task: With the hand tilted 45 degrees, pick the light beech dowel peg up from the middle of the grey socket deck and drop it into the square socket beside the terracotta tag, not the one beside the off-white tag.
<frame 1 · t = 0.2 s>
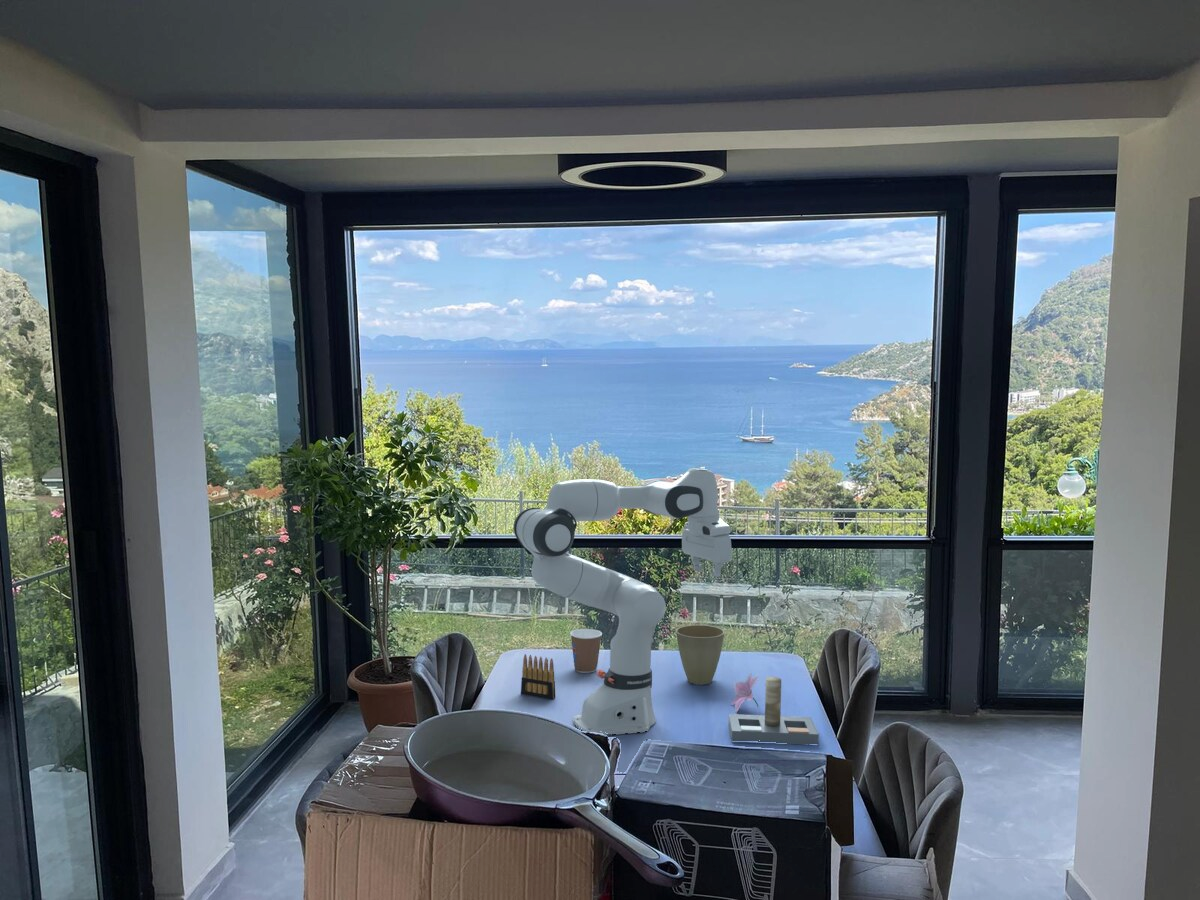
hand: (707, 573, 250), 39 cm above the table, tool pointing down, fingers open, 8 cm apart
socket deck: (772, 735, 234), on the table
coffee cup: (585, 670, 287), on the table
peg: (772, 723, 234), point 3 cm above the table, touching socket deck
ammunition clip: (538, 696, 262), on the table
lily: (744, 708, 255), on the table
plant pot: (699, 681, 277), on the table
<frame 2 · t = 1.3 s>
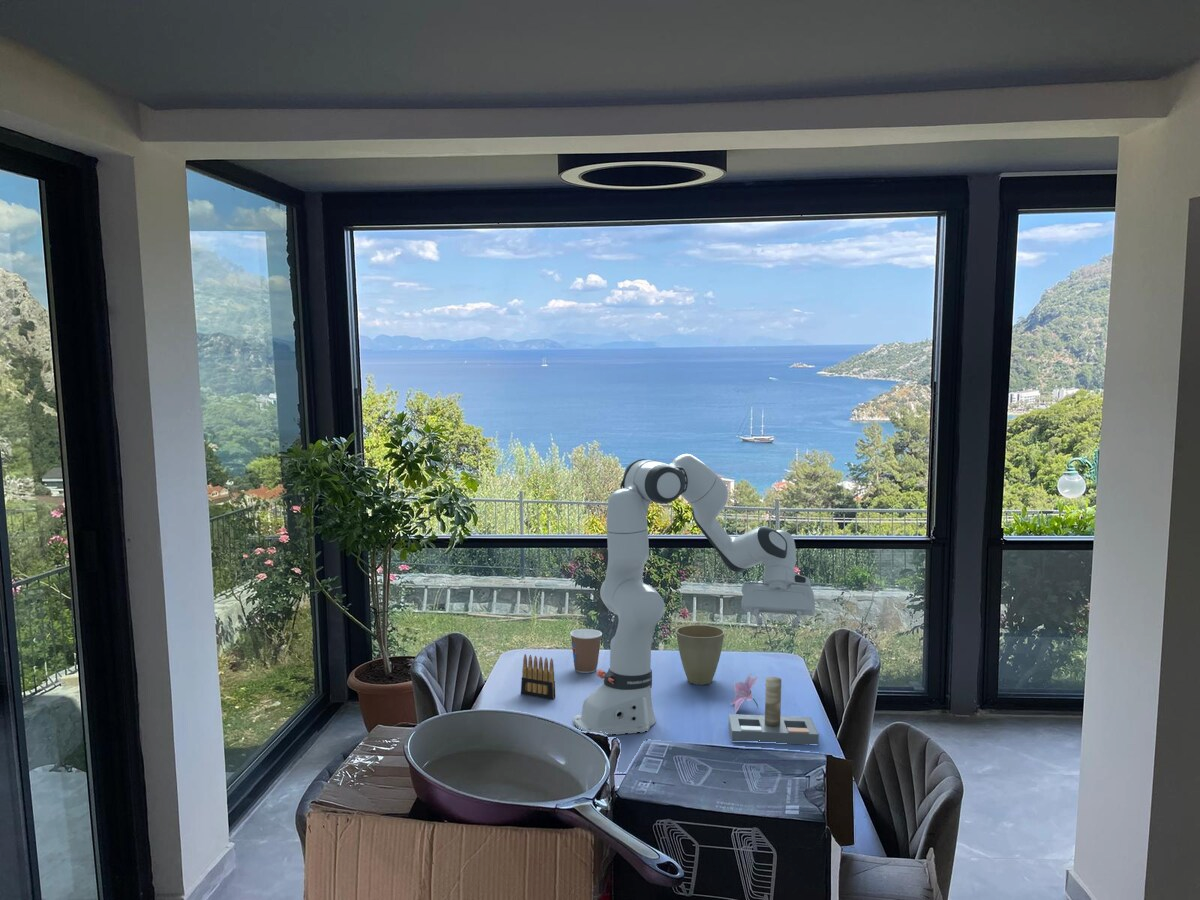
hand: (777, 625, 245), 26 cm above the table, tool tilted 45°, fingers open, 8 cm apart
nothing on the table moved.
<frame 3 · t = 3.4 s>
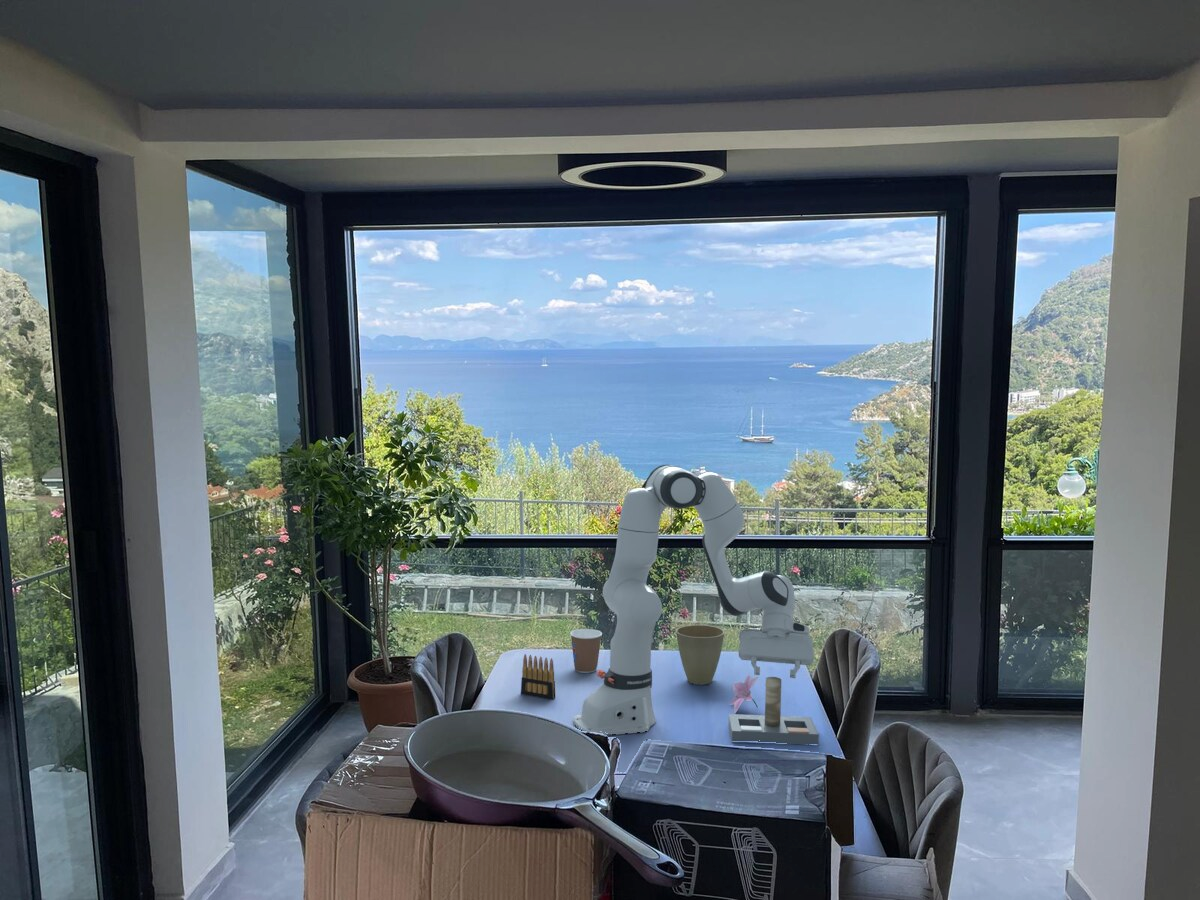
hand: (774, 675, 239), 14 cm above the table, tool tilted 45°, fingers open, 8 cm apart
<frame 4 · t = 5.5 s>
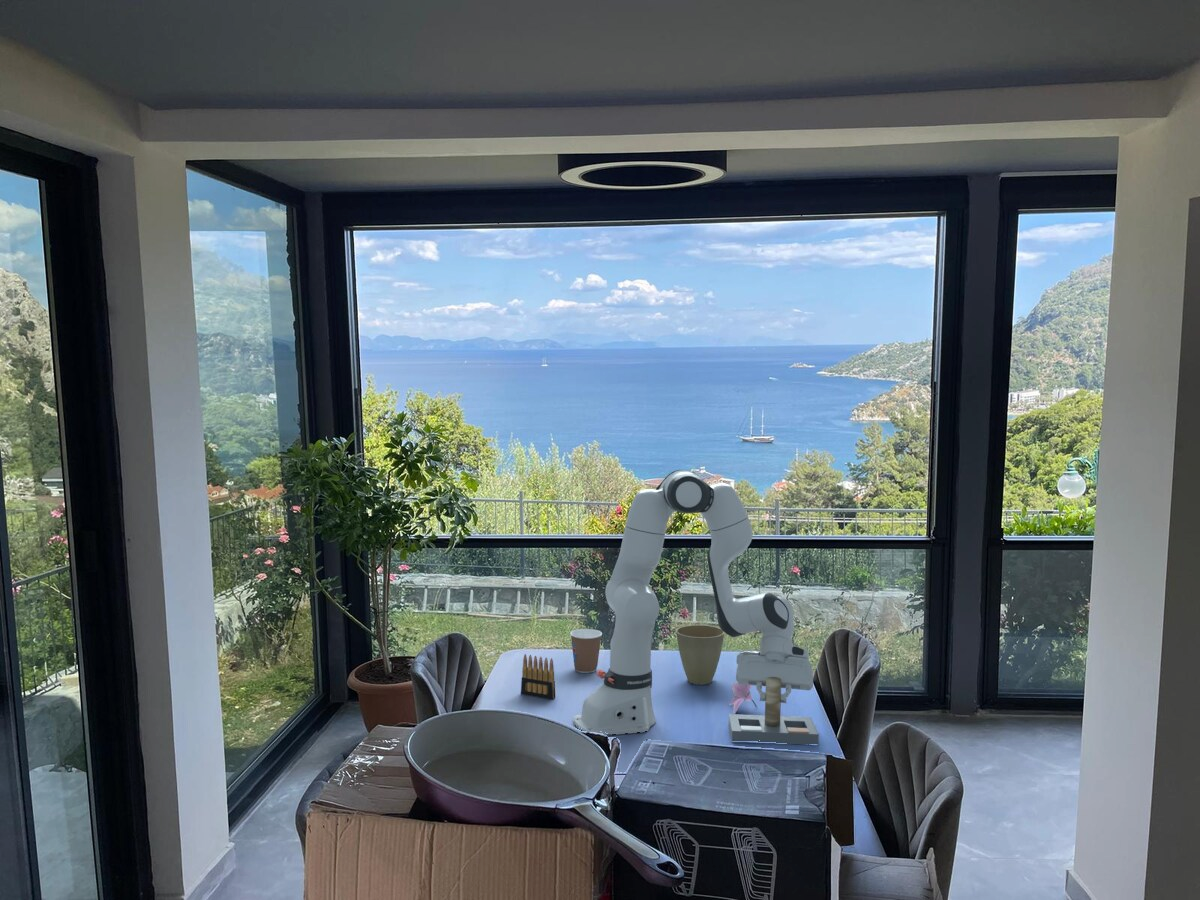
hand: (772, 701, 233), 9 cm above the table, tool tilted 45°, fingers closed on peg, 4 cm apart
peg: (772, 723, 234), point 3 cm above the table, touching gripper, socket deck
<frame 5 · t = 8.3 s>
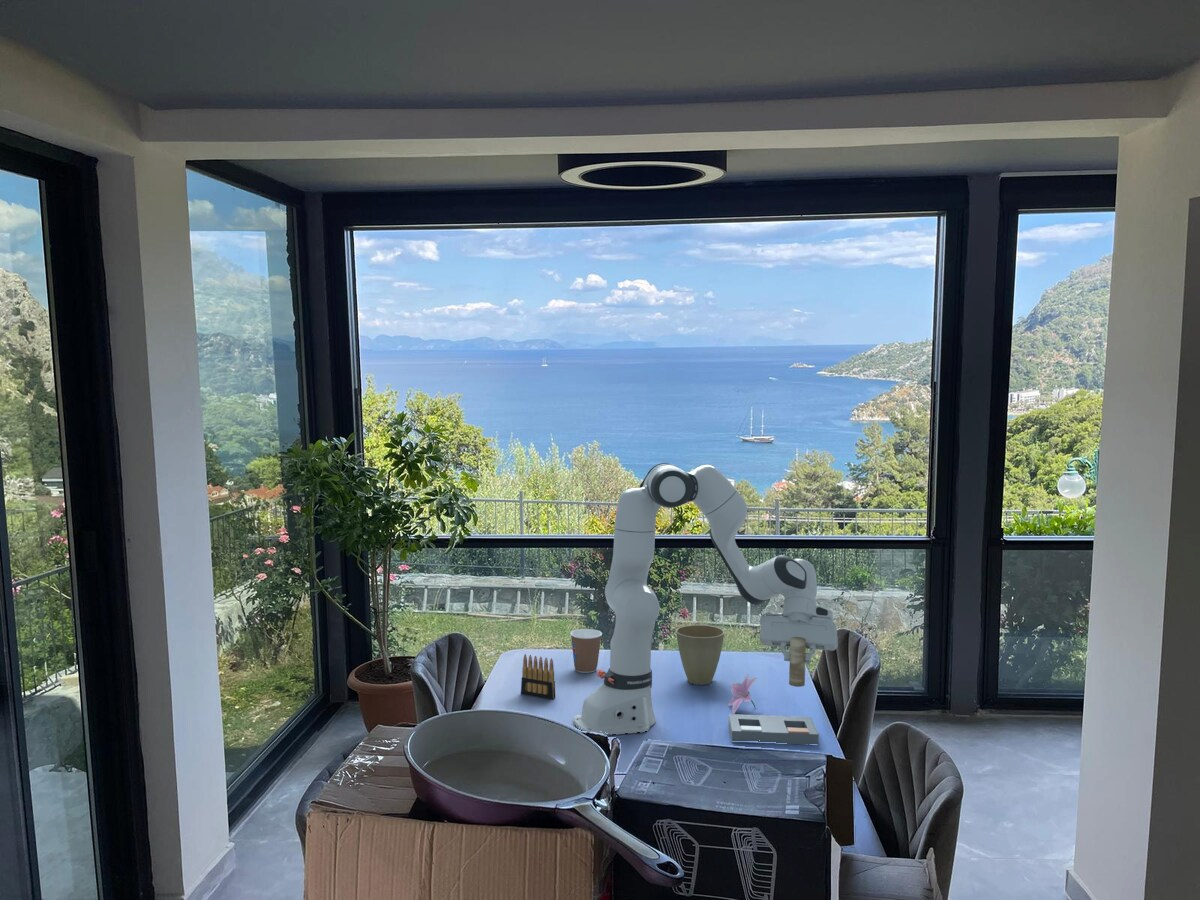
hand: (797, 661, 232), 20 cm above the table, tool tilted 45°, fingers closed on peg, 4 cm apart
peg: (796, 684, 233), point 14 cm above the table, touching gripper
when the fingers open (8 cm above the table, at t = 11.3 s): peg drops 1 cm, resting in socket deck.
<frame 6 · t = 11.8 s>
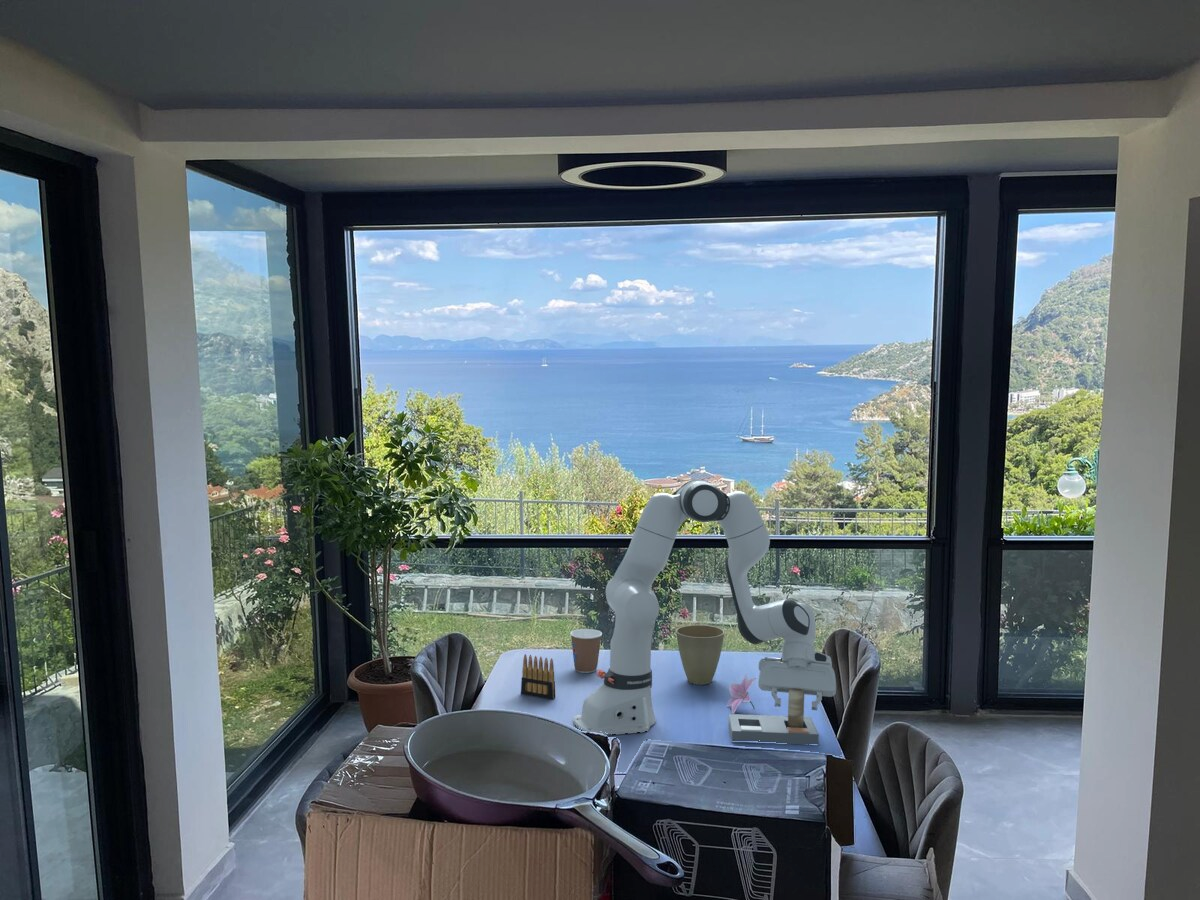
hand: (796, 707, 233), 8 cm above the table, tool tilted 45°, fingers open, 8 cm apart
peg: (795, 735, 234), resting in socket deck
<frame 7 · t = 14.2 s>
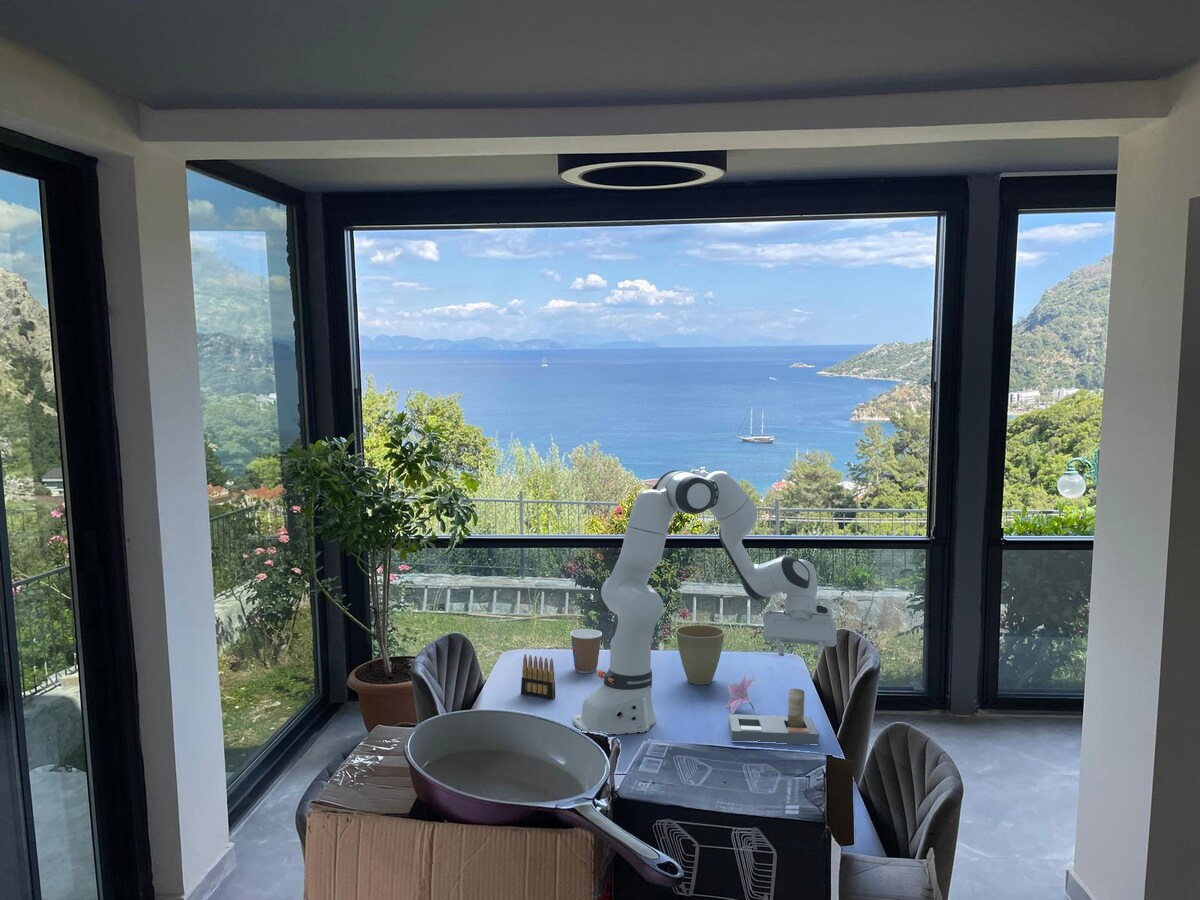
hand: (798, 656, 245), 18 cm above the table, tool tilted 45°, fingers open, 8 cm apart
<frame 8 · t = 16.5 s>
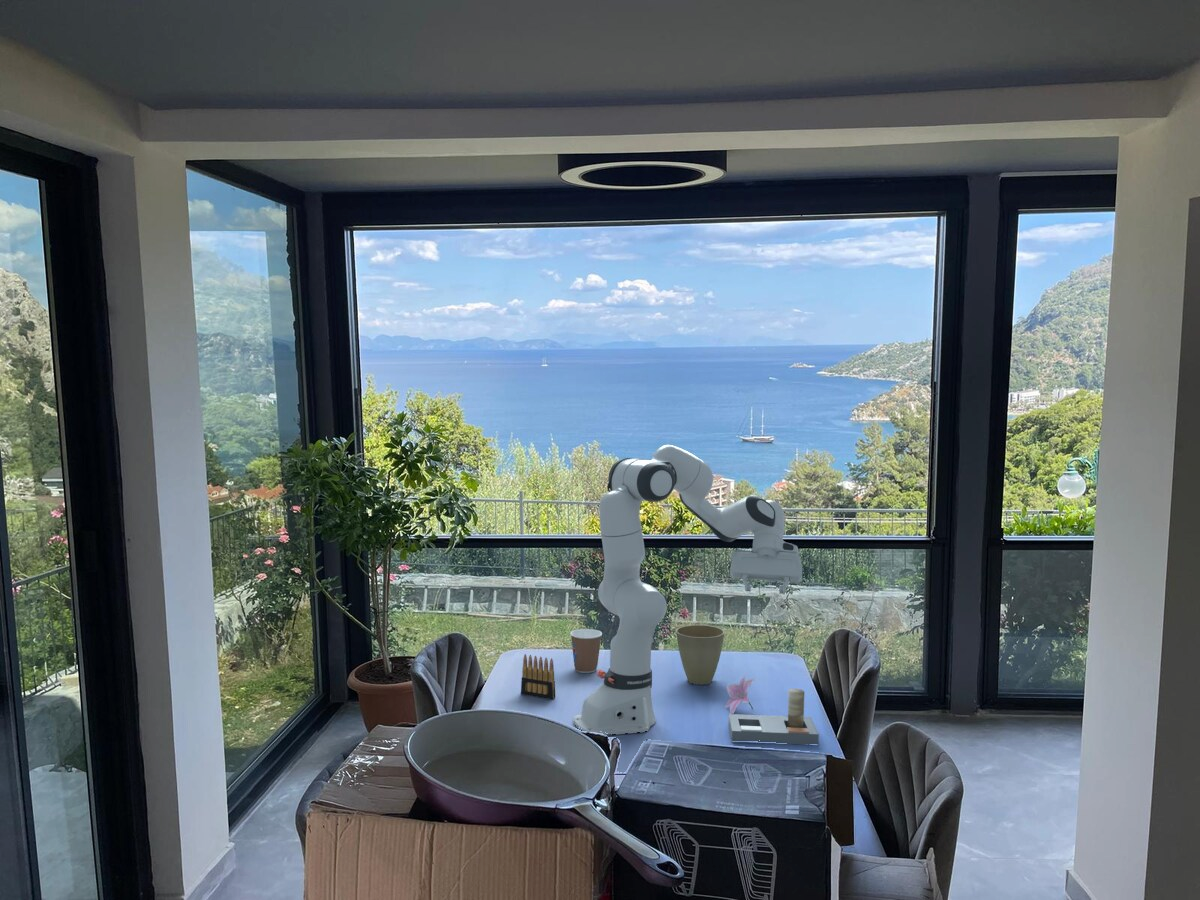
hand: (764, 591, 249), 34 cm above the table, tool tilted 45°, fingers open, 8 cm apart
at the end: peg 0.0 cm from the target spot on the socket deck, point 0.0 cm above the socket deck's base; peg tilted 0°; the gripper is holding nothing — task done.
